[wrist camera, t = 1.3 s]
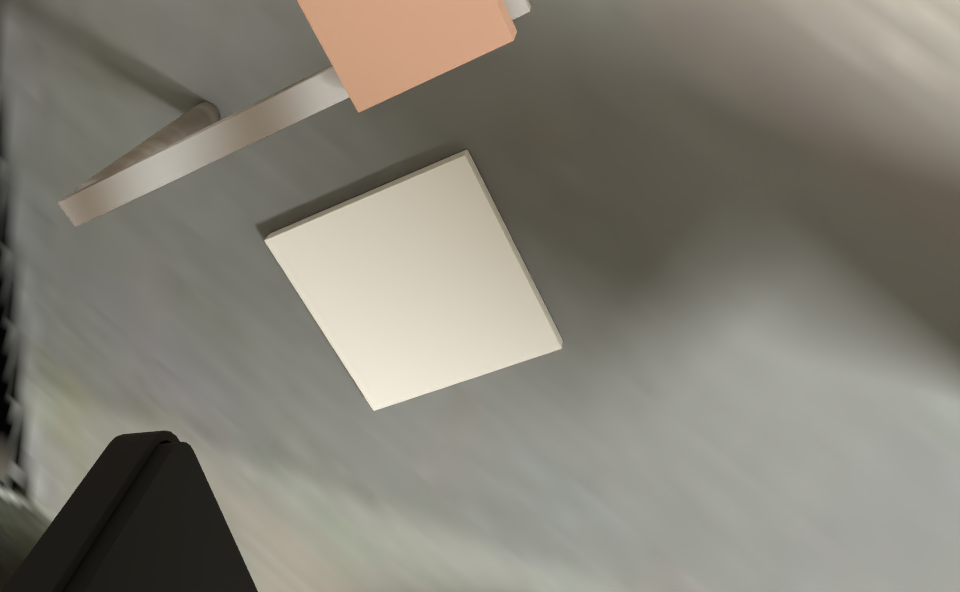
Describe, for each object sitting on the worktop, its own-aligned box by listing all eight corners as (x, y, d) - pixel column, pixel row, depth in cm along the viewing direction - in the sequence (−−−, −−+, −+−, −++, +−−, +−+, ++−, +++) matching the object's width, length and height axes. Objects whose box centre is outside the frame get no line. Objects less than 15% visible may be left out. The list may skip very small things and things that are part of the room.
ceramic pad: (467, 149, 37) (464, 155, 36) (562, 339, 42) (562, 348, 41) (269, 233, 41) (264, 240, 40) (377, 401, 45) (373, 410, 44)
